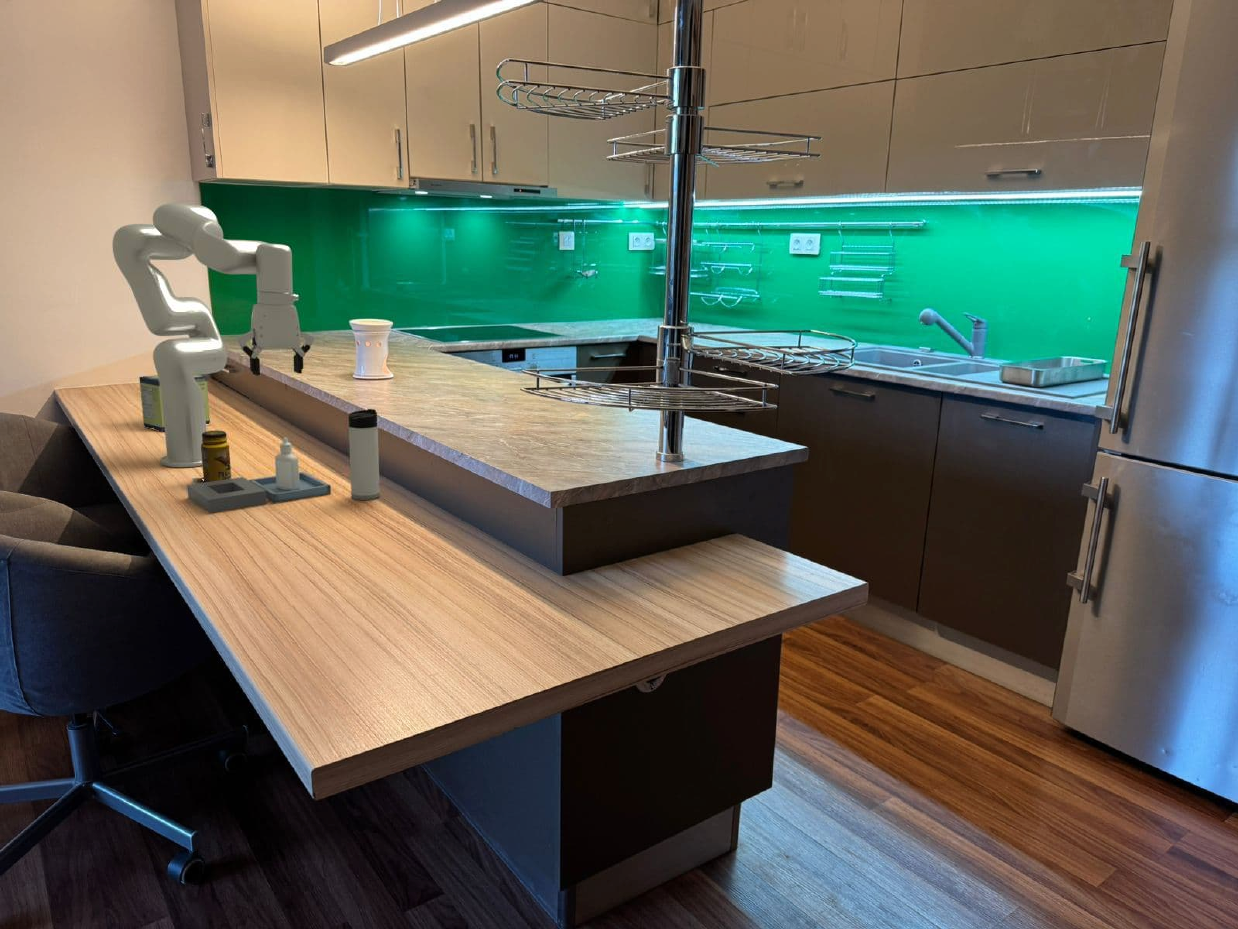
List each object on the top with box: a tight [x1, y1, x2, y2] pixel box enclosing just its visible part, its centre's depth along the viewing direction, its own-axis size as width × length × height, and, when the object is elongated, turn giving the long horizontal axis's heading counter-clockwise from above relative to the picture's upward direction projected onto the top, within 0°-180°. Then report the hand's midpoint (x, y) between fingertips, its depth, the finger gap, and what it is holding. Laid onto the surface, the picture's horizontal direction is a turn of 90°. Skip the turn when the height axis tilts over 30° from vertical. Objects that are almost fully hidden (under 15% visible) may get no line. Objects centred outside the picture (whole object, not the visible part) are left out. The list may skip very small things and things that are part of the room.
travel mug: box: [348, 408, 381, 501], centre depth 192 cm, size 6×7×20 cm
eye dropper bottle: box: [274, 437, 300, 491], centre depth 195 cm, size 4×6×12 cm
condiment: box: [191, 429, 233, 484], centre depth 201 cm, size 7×8×12 cm
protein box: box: [139, 374, 211, 432], centre depth 257 cm, size 10×16×16 cm
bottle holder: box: [186, 476, 268, 514], centre depth 187 cm, size 14×12×3 cm
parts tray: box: [248, 471, 332, 504], centre depth 197 cm, size 15×13×2 cm
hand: (277, 373), depth 198 cm, fingers open, 9 cm apart
